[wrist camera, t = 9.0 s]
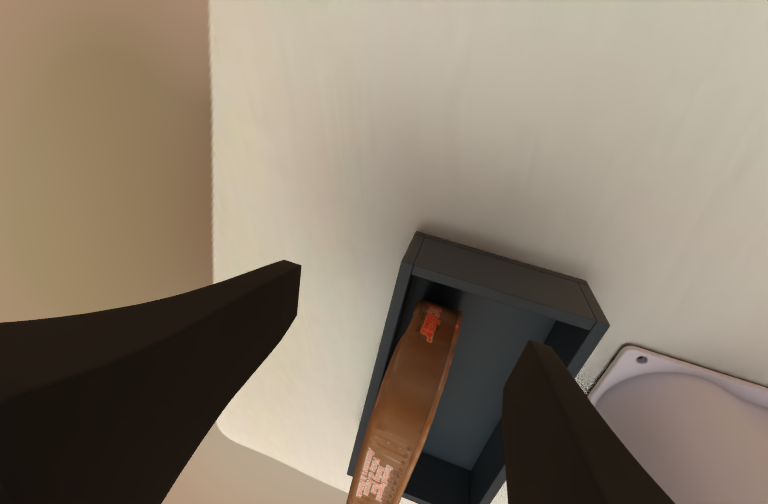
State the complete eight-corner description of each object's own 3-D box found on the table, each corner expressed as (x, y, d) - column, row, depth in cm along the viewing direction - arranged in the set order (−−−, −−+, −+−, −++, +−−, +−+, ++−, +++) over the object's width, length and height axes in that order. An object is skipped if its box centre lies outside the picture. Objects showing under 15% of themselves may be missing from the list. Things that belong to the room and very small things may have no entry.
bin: (586, 280, 18) (611, 325, 15) (475, 471, 27) (474, 527, 24) (416, 230, 20) (401, 261, 16) (363, 427, 29) (346, 474, 25)
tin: (410, 438, 27) (382, 569, 19) (373, 423, 27) (332, 546, 20) (471, 284, 20) (463, 399, 12) (419, 268, 20) (381, 369, 13)
